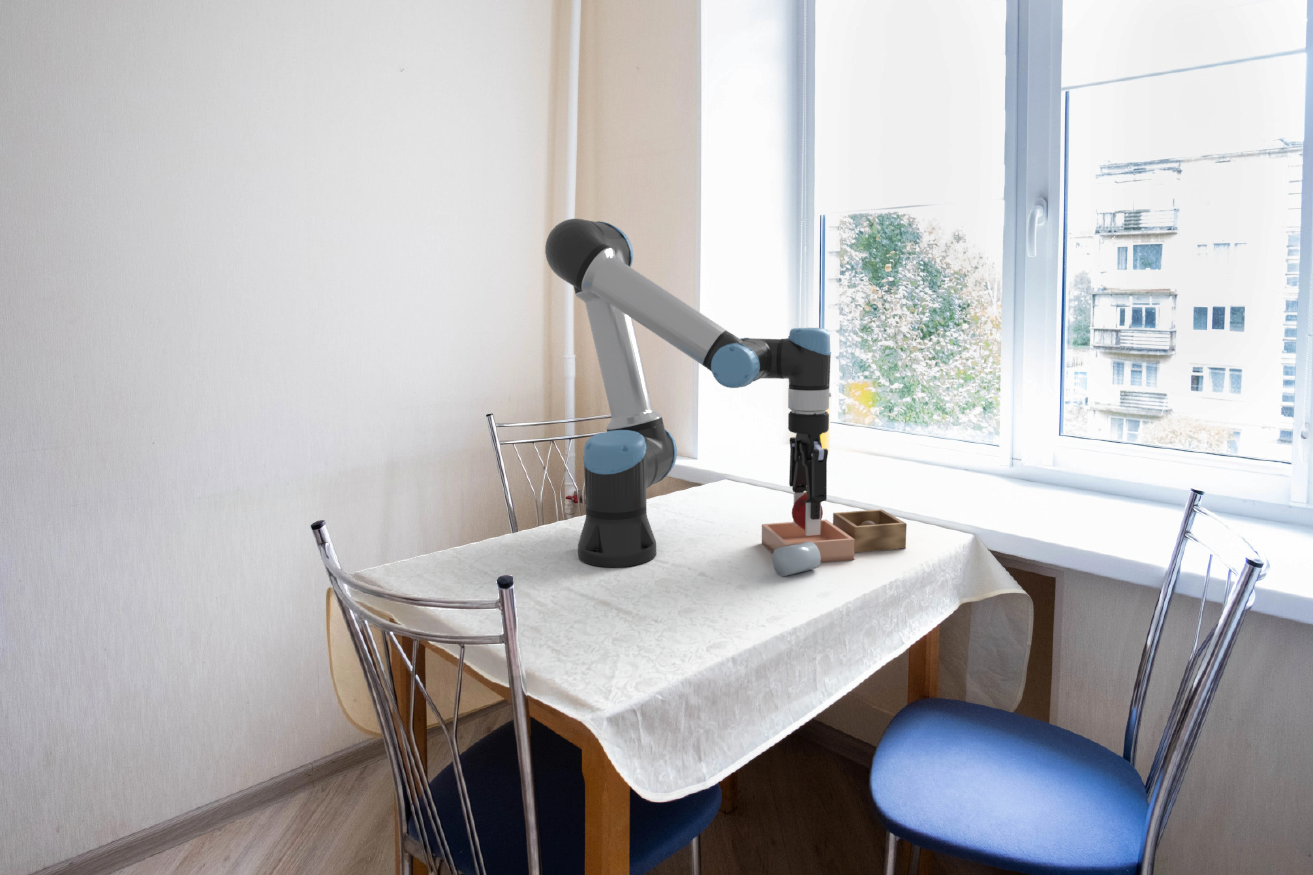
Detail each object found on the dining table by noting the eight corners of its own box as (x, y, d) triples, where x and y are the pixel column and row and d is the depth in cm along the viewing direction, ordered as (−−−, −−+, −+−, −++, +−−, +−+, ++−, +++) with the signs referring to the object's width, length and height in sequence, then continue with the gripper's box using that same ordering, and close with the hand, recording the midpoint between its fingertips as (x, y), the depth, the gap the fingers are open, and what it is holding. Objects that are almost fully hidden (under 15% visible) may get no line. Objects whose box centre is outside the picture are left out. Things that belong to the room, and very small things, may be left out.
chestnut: (863, 541, 161) (864, 524, 160) (856, 536, 165) (856, 519, 164) (880, 540, 162) (881, 522, 161) (872, 535, 165) (873, 517, 165)
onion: (806, 537, 154) (806, 496, 152) (785, 530, 158) (785, 490, 157) (828, 531, 157) (829, 491, 155) (807, 524, 162) (807, 485, 160)
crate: (854, 552, 157) (855, 527, 156) (832, 536, 167) (833, 512, 167) (905, 548, 159) (906, 523, 158) (880, 532, 169) (881, 509, 168)
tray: (784, 565, 150) (785, 544, 150) (761, 543, 164) (761, 524, 163) (854, 559, 153) (854, 539, 152) (825, 538, 166) (826, 519, 165)
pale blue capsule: (790, 579, 143) (790, 552, 142) (771, 571, 147) (772, 544, 147) (820, 572, 147) (820, 545, 146) (801, 564, 151) (802, 538, 150)
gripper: (848, 417, 145) (844, 542, 149) (809, 403, 163) (807, 515, 167) (808, 419, 144) (805, 545, 148) (773, 404, 162) (772, 518, 166)
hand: (806, 529), depth 158 cm, fingers closed on onion, 6 cm apart
